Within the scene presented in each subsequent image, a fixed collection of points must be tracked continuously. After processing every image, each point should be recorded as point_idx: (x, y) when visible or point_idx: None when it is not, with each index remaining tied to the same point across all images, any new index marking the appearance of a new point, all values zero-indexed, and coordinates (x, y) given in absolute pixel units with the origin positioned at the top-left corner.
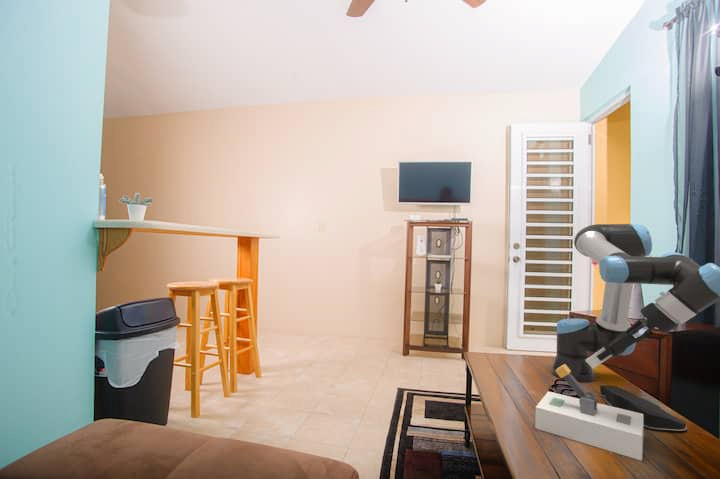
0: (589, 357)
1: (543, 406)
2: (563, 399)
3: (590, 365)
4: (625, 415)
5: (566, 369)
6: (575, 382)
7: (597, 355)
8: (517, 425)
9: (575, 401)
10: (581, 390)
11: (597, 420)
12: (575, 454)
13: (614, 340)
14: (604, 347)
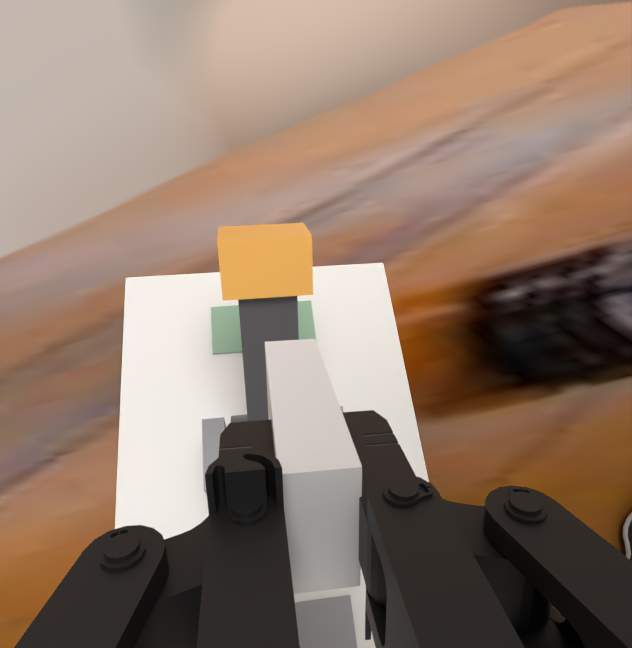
0: (278, 360)
1: (160, 299)
2: (330, 338)
3: (267, 396)
4: (351, 637)
5: (246, 271)
6: (251, 357)
7: (270, 422)
8: (125, 270)
9: (351, 385)
10: (247, 405)
11: (163, 531)
12: (9, 497)
13: (477, 594)
14: (224, 484)
